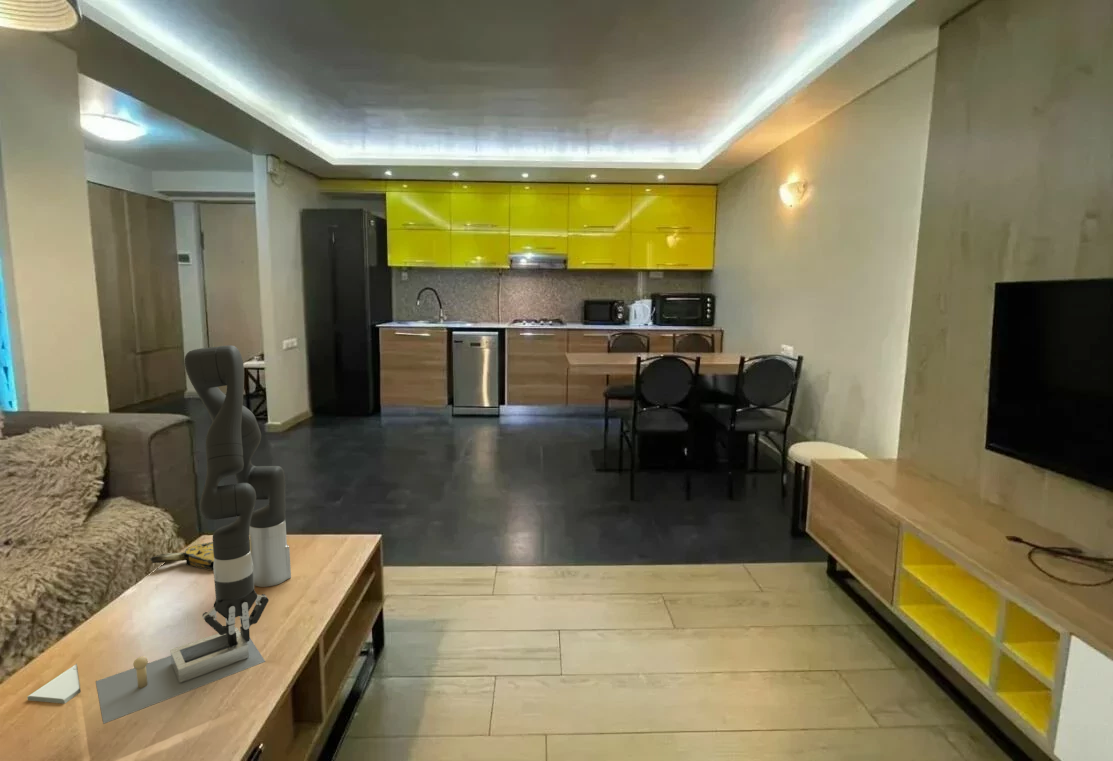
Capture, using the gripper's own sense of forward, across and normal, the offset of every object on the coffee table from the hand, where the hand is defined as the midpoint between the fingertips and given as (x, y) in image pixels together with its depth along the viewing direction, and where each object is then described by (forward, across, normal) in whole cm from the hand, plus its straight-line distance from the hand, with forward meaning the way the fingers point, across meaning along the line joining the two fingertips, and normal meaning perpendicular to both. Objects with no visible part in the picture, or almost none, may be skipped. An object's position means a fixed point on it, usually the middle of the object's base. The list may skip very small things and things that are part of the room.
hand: (239, 645), depth 129 cm
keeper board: (+3, +11, 0) cm, 11 cm away
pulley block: (+3, -6, -58) cm, 58 cm away
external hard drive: (+3, +28, -13) cm, 31 cm away
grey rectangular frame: (+1, +6, 0) cm, 6 cm away
